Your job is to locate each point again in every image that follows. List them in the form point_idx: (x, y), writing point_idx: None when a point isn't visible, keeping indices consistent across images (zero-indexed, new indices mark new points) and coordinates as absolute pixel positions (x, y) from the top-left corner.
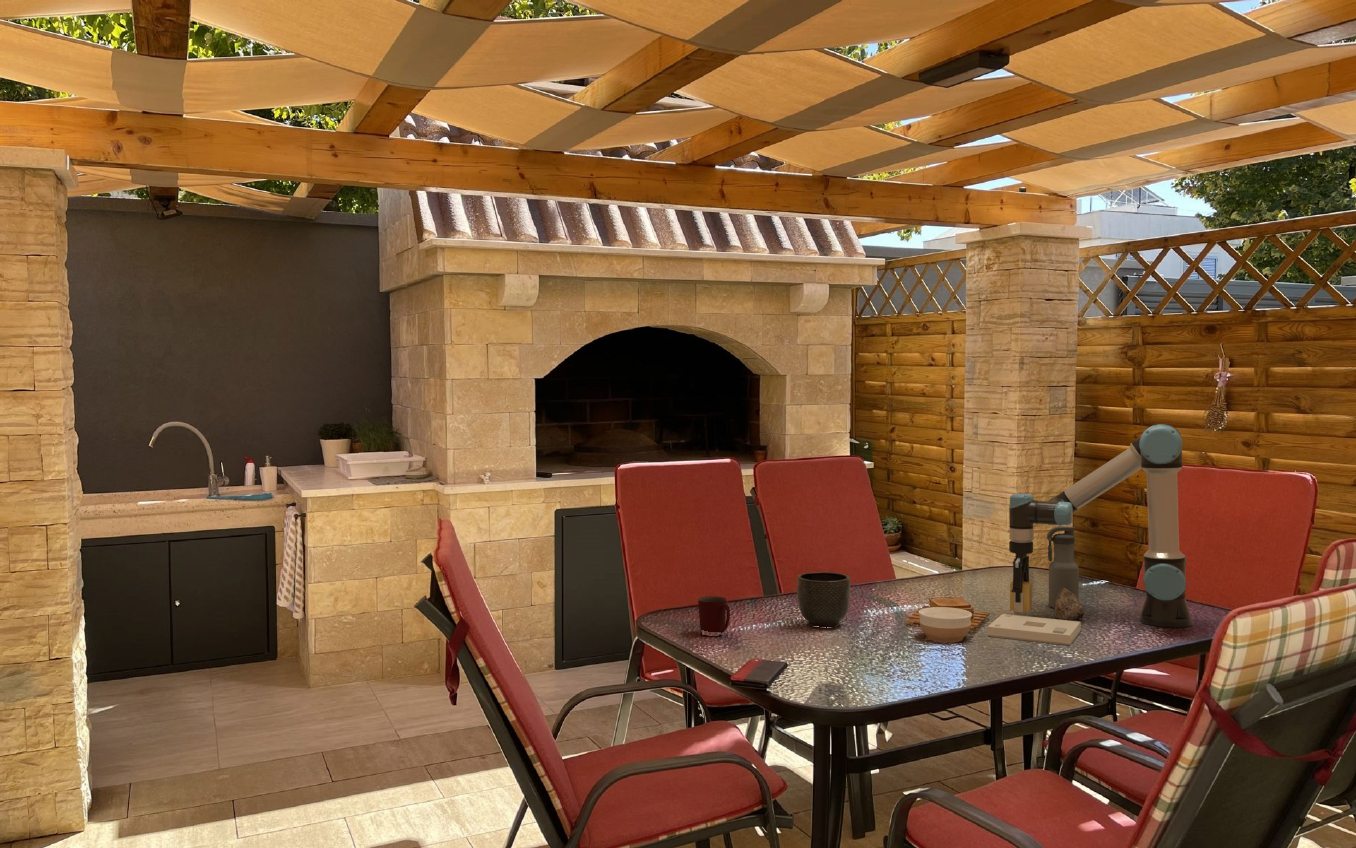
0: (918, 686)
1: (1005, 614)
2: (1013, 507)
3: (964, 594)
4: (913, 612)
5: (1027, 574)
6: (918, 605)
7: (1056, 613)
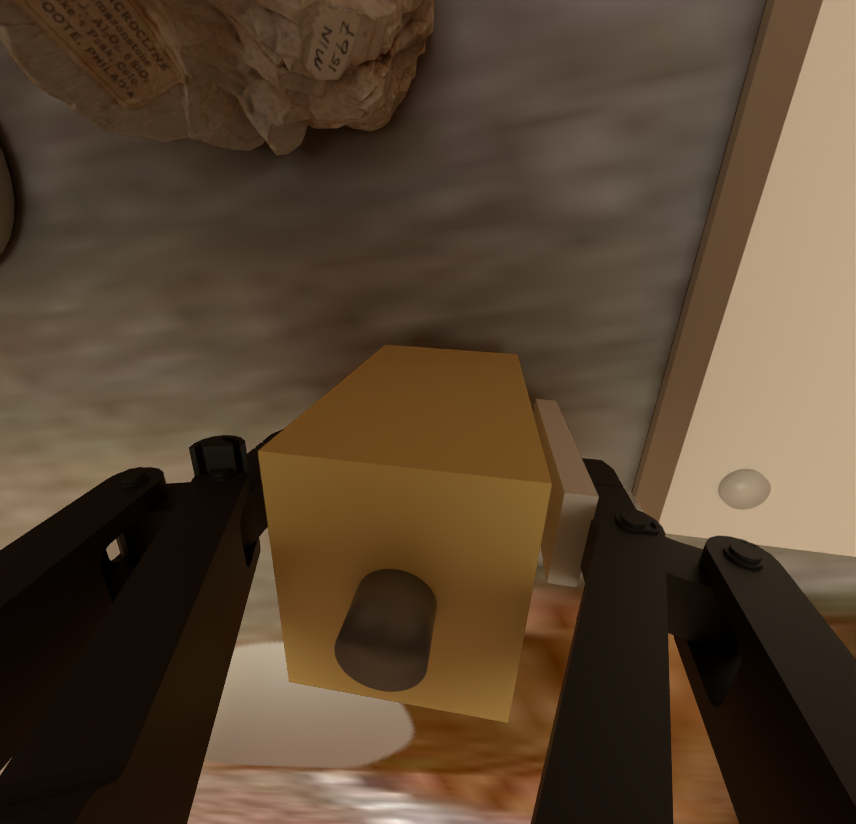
0: None
1: (673, 512)
2: None
3: None
4: (511, 819)
5: (22, 604)
6: (366, 799)
7: (393, 102)
